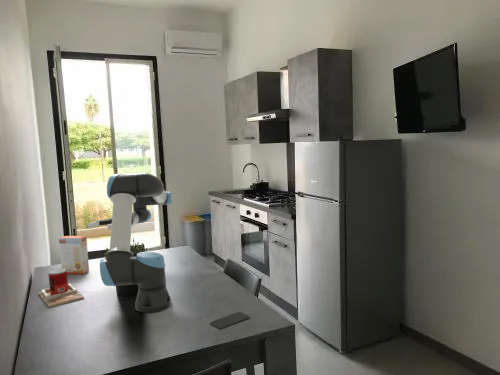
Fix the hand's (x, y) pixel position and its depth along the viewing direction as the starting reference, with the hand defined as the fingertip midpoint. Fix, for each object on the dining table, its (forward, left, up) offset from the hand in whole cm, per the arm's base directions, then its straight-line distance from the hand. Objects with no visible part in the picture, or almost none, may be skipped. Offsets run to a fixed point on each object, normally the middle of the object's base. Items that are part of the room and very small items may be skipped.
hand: (98, 226), depth 202 cm
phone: (-82, -23, -31) cm, 90 cm away
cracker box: (+31, +5, -30) cm, 44 cm away
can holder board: (-5, +21, -30) cm, 37 cm away
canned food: (-2, +21, -29) cm, 36 cm away
